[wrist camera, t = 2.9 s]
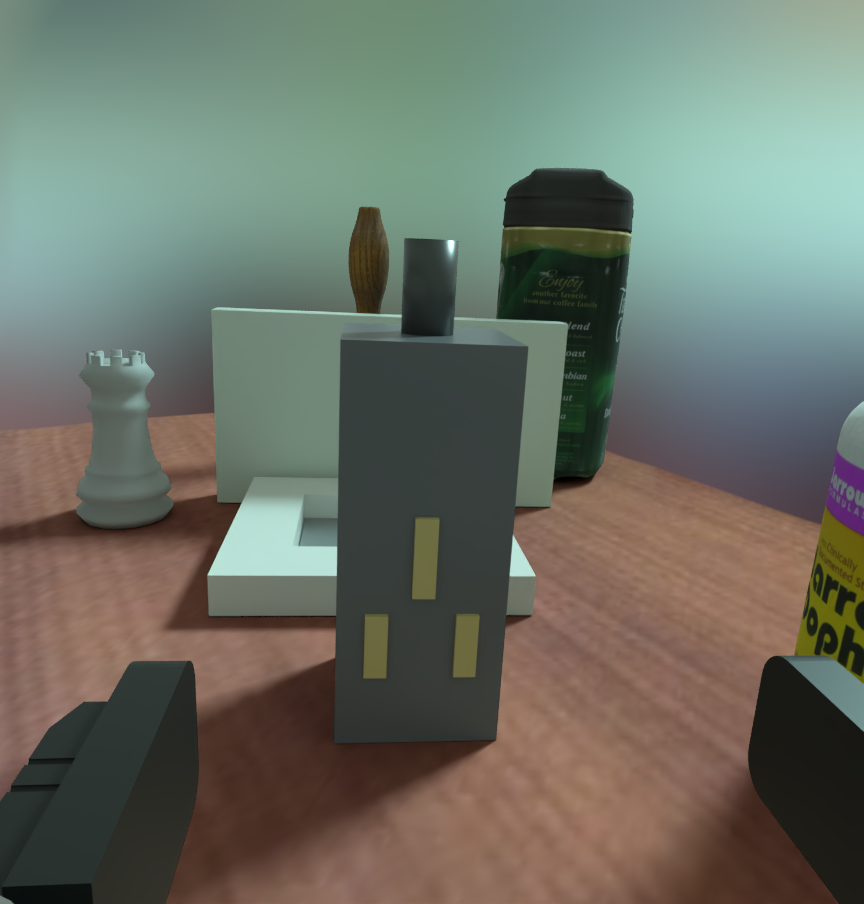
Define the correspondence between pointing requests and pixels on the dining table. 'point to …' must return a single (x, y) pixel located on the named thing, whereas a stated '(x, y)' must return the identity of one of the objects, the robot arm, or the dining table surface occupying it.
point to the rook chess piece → (121, 447)
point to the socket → (328, 453)
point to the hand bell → (368, 261)
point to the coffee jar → (571, 291)
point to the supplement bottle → (840, 561)
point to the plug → (425, 514)
